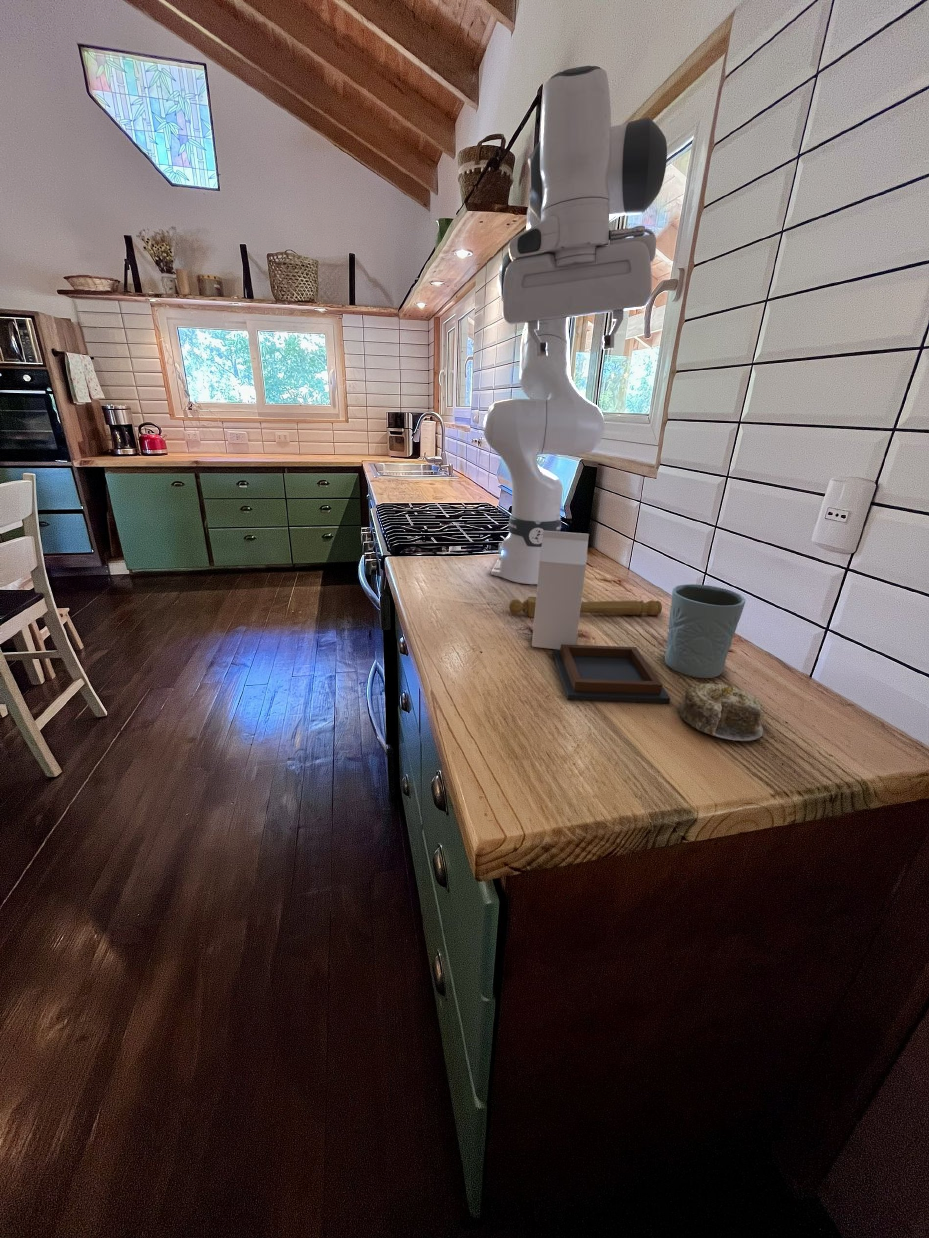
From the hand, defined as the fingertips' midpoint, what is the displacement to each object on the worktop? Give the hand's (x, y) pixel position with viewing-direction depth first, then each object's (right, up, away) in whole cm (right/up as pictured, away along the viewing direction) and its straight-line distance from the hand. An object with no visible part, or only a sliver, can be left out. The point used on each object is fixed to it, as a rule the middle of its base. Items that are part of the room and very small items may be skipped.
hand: (574, 353), depth 72 cm
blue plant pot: (+20, -46, +7) cm, 51 cm away
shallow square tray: (+5, -47, +2) cm, 48 cm away
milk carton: (-1, -43, +13) cm, 45 cm away
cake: (+17, -52, -8) cm, 56 cm away
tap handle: (+7, -38, +25) cm, 46 cm away
